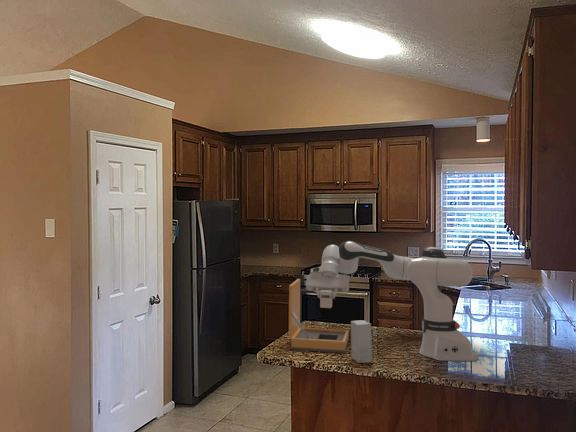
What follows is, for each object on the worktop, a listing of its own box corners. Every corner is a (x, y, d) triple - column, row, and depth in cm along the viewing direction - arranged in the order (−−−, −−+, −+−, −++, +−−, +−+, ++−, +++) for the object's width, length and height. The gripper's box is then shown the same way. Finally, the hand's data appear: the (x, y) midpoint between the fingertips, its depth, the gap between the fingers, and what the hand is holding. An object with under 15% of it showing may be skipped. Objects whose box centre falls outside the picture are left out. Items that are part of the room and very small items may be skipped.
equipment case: (348, 340, 230) (349, 280, 229) (344, 352, 210) (345, 287, 209) (297, 337, 234) (297, 278, 233) (288, 349, 214) (289, 285, 214)
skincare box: (372, 362, 197) (372, 324, 197) (357, 363, 196) (357, 324, 196) (364, 356, 205) (364, 319, 205) (349, 357, 204) (350, 319, 204)
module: (332, 306, 241) (332, 290, 241) (330, 308, 236) (331, 291, 236) (321, 305, 242) (321, 289, 242) (320, 307, 237) (320, 291, 237)
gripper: (350, 278, 248) (349, 302, 239) (308, 276, 252) (305, 300, 243) (350, 270, 244) (348, 294, 234) (307, 268, 248) (303, 292, 238)
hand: (326, 297), depth 239 cm, fingers closed on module, 5 cm apart
